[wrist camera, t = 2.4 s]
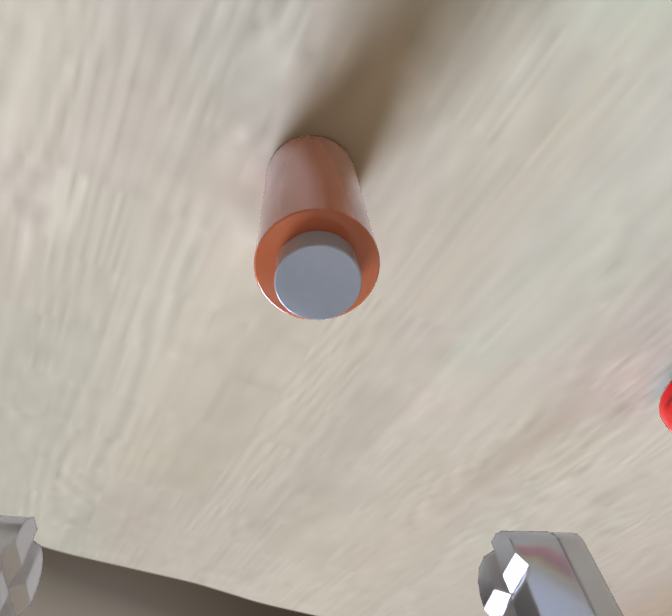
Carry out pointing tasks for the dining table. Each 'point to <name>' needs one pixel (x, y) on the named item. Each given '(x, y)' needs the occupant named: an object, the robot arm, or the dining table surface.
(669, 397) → the soda can
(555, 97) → the dining table surface
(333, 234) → the capped bottle
